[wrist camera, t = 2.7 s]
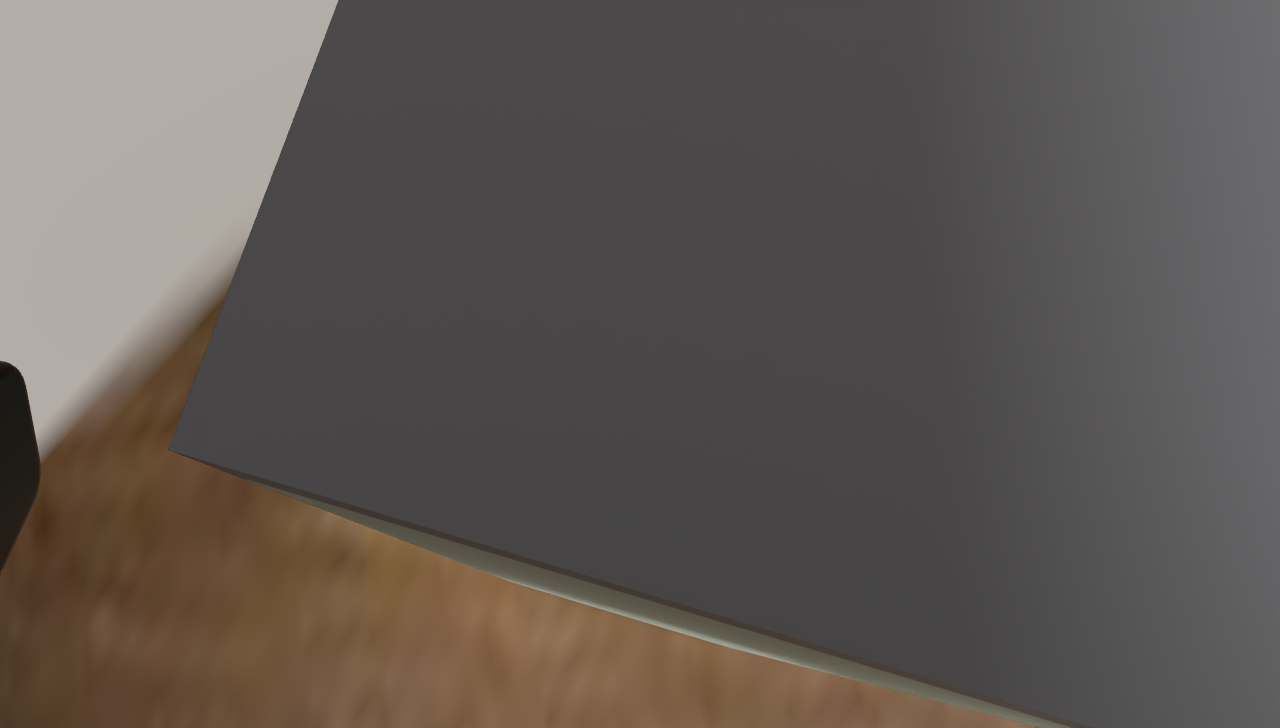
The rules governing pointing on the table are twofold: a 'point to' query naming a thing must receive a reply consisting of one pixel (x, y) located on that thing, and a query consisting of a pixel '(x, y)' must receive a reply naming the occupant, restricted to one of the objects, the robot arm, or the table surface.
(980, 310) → the sage bracket post
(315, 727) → the table surface
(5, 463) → the robot arm
